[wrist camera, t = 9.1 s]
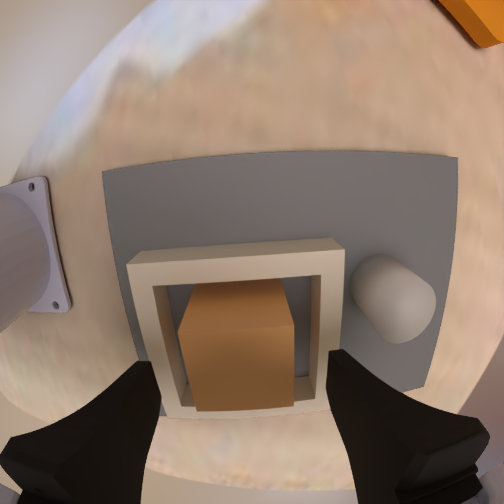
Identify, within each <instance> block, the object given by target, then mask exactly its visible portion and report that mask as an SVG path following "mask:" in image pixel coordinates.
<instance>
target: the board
mask: <svg viewBox="0 0 504 504" xmlns="http://www.w3.org/2000/svg"><path fill="white" fill-rule="evenodd" d="M102 177H103V187H104V195H105V203H106V211H107V218H108V225H109V231H110V237H111V243H112V249H113V254H114V260H115V265H116V270H117V275H118V280H119V284H120V289H121V293H122V298H123V302H124V306H125V310H126V314H127V318H128V322H129V326H130V330H131V333H132V337H133V341H134V344H135V348H136V351H137V354H138V358H139V361H151V363H152V367H153V370H154V373H155V377H156V380H157V383H158V386H159V389H160V392H161V396H162V400H161V407H160V413H159V416H167V418H178V419H231V418H253V417H267V416H279V415H289V414H298V413H306V412H314V411H321V410H328V409H330V405H329V401H328V397H327V393H326V388H325V387H326V376H327V365H328V353H329V351H331V350H338V349H344V350H345V351H346V352H347V353H349V354H350V355H351V356H352V357H353V358H354V359H356V360H357V361H358V362H359V363H360V364H361V365H363V366H364V367H365V368H366V369H368V370H369V371H370V372H371V373H373V374H374V375H375V376H377V377H378V378H379V379H381V380H382V381H384V382H385V383H387V384H388V385H390V386H391V387H393V388H394V389H396V390H397V391H399V392H401V393H402V392H406V391H410V390H413V389H417V388H421V387H424V384H425V381H426V378H427V375H428V371H429V368H430V365H431V361H432V358H433V354H434V350H435V347H436V343H437V339H438V335H439V331H440V326H441V322H442V317H443V313H444V308H445V303H446V298H447V292H448V286H449V280H450V274H451V267H452V259H453V251H454V242H455V231H456V217H457V197H458V157H448V156H438V155H426V154H413V153H396V152H373V151H291V152H267V153H250V154H235V155H223V156H211V157H201V158H192V159H183V160H174V161H166V162H159V163H152V164H145V165H138V166H132V167H125V168H119V169H113V170H108V171H102ZM271 278H280V280H281V283H282V286H283V290H284V293H285V296H286V299H287V303H288V306H289V309H290V313H291V316H292V319H293V323H294V406H292V407H282V408H272V409H259V410H243V411H215V412H197V411H196V407H195V403H194V400H193V396H192V392H191V388H190V384H189V380H188V376H187V372H186V368H185V363H184V359H183V355H182V350H181V346H180V341H179V336H178V330H179V327H180V324H181V322H182V319H183V316H184V313H185V311H186V308H187V305H188V302H189V300H190V297H191V294H192V292H193V289H194V286H195V284H196V283H212V282H228V281H243V280H257V279H271Z"/></svg>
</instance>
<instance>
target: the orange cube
mask: <svg viewBox="0 0 504 504" xmlns="http://www.w3.org/2000/svg"><path fill="white" fill-rule="evenodd" d="M178 336H179V341H180V346H181V350H182V355H183V359H184V363H185V368H186V372H187V376H188V380H189V384H190V388H191V392H192V396H193V400H194V403H195V407H196V411H197V412H215V411H243V410H259V409H272V408H282V407H292V406H294V323H293V319H292V316H291V313H290V309H289V306H288V303H287V299H286V296H285V293H284V290H283V286H282V283H281V280H280V278H271V279H257V280H243V281H228V282H212V283H196V284H195V286H194V289H193V292H192V294H191V297H190V300H189V302H188V305H187V308H186V311H185V313H184V316H183V319H182V322H181V324H180V327H179V330H178Z"/></svg>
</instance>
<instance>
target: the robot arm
mask: <svg viewBox="0 0 504 504" xmlns="http://www.w3.org/2000/svg"><path fill="white" fill-rule="evenodd" d="M33 183H34V186H35V189H34V190H33V188H32V184H33ZM56 302H57V303H58V304H59V306H58V305H57V304H56ZM70 309H71V301H70V298H69V294H68V290H67V287H66V283H65V279H64V275H63V271H62V266H61V262H60V257H59V253H58V248H57V243H56V238H55V232H54V226H53V220H52V214H51V207H50V200H49V192H48V183H47V180H46V178H45V177H43V176H37V177H34V178H30V179H26V180H23V181H19V182H16V183H12V184H9V185H6V186H3V187H0V333H1V332H2V331H3V330H5V329H6V328H7V327H8V326H9V325H10V324H11V323H13V322H14V321H15V320H16V319H17V318H19V317H20V316H21V315H22V314H23V313H24V312H50V313H66V312H68V311H69V310H70ZM325 388H326V393H327V397H328V401H329V405H330V409H331V412H332V414H333V417H334V419H335V422H336V425H337V427H338V430H339V432H340V435H341V437H342V440H343V443H344V445H345V448H346V451H347V454H348V457H349V461H350V466H351V470H352V474H353V479H354V483H355V488H356V493H357V499H358V504H504V462H503V463H502V464H500V465H498V466H497V467H495V468H494V469H492V470H490V471H488V472H487V473H485V474H484V475H483V476H481V477H480V478H479V479H478V477H477V476H476V474H475V473H477V472H478V468H477V466H476V465H475V462H476V461H477V460H478V458H479V457H480V455H481V454H482V453H483V451H484V450H485V448H486V446H487V445H488V442H489V439H490V435H489V433H488V431H487V430H486V429H485V427H484V426H483V425H482V423H481V422H480V421H479V419H478V418H473V417H468V416H462V415H457V414H453V413H450V412H446V411H443V410H439V409H436V408H434V407H431V406H428V405H426V404H423V403H421V402H419V401H416V400H414V399H412V398H410V397H408V396H407V395H405V394H403V393H401V392H399V391H397V390H396V389H394V388H393V387H391V386H390V385H388V384H387V383H385V382H384V381H382V380H381V379H379V378H378V377H377V376H375V375H374V374H373V373H371V372H370V371H369V370H368V369H366V368H365V367H364V366H363V365H361V364H360V363H359V362H358V361H357V360H356V359H354V358H353V357H352V356H351V355H350V354H349V353H347V352H346V351H345V350H344V349H338V350H331V351H329V353H328V365H327V376H326V387H325ZM161 400H162V396H161V392H160V389H159V386H158V383H157V380H156V377H155V373H154V370H153V367H152V363H151V361H137V362H136V363H134V364H133V365H132V366H131V367H130V368H129V369H128V370H127V371H125V372H124V373H123V374H122V375H121V376H120V377H119V378H118V379H117V380H116V381H115V382H113V383H112V384H111V385H110V386H109V387H108V388H107V389H105V390H104V391H103V392H102V393H101V394H99V395H98V396H97V397H96V398H94V399H93V400H92V401H90V402H89V403H88V404H86V405H85V406H83V407H82V408H80V409H79V410H77V411H76V412H74V413H72V414H71V415H69V416H67V417H65V418H63V419H61V420H59V421H57V422H55V423H53V424H51V425H49V426H46V427H44V428H41V429H39V430H36V431H33V432H30V433H26V434H22V435H19V436H15V437H11V438H10V440H9V441H8V443H7V445H6V446H5V448H4V449H3V451H2V452H1V454H0V465H1V466H2V468H3V469H4V471H5V472H6V473H7V474H8V475H9V476H10V477H11V478H12V479H13V480H14V481H15V483H16V484H17V485H18V486H19V487H20V488H21V489H22V490H23V491H22V493H21V495H20V494H18V493H17V492H15V491H14V490H12V489H10V488H8V487H6V486H4V485H2V484H0V504H141V491H142V483H143V475H144V469H145V463H146V459H147V455H148V452H149V449H150V445H151V442H152V439H153V435H154V432H155V429H156V425H157V422H158V418H159V413H160V407H161Z"/></svg>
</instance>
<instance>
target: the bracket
mask: <svg viewBox="0 0 504 504" xmlns="http://www.w3.org/2000/svg"><path fill="white" fill-rule="evenodd" d="M439 1H440V2H441V4H442V5H443V6H444V7H445V8H446V9H447V10H448V11H449V12H450V13H451V14H452V15H453V16H454V18H455V19H456V20H457V21H458V22H459V23H460V24H461V26H462V27H463V28H464V29H465V30H466V32H467V33H468V34H469V35H470V36H471V38H472V39H473V40H474V41H475V42H476V43H477V44H478V45H479V46H480V47H482V48H488V47H491V46H494V45H497V44H500V43H503V42H504V0H439Z"/></svg>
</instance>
